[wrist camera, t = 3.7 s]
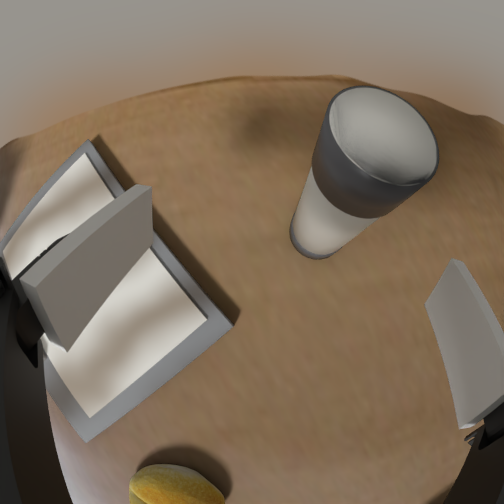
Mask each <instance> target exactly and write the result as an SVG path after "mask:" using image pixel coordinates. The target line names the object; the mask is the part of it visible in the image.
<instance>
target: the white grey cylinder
mask: <svg viewBox="0 0 504 504" xmlns="http://www.w3.org/2000/svg"><path fill="white" fill-rule="evenodd" d="M438 164H439V149H438V144H437V141H436V138H435V135H434V133H433V131H432V129H431V127H430V126H429V124H428V123H427V121H426V120H425V118H424V117H423V116H422V115H421V114H420V113H419V112H418V111H417V110H416V109H415V108H414V107H413V106H412V105H411V104H410V103H408V102H407V101H406V100H404V99H403V98H401V97H399V96H398V95H396V94H394V93H392V92H390V91H387V90H384V89H381V88H377V87H372V86H354V87H349V88H346V89H344V90H342V91H340V92H339V93H337V94H336V95H335V96H334V97H333V98H332V100H331V101H330V103H329V105H328V108H327V111H326V114H325V118H324V121H323V124H322V127H321V130H320V134H319V137H318V140H317V143H316V146H315V149H314V153H313V156H312V166H311V169H310V172H309V175H308V178H307V181H306V183H305V186H304V189H303V192H302V195H301V198H300V201H299V203H298V206H297V209H296V211H295V213H294V215H293V218H292V221H291V224H290V230H289V233H290V239H291V242H292V244H293V246H294V247H295V248H296V250H297V251H298V252H299V253H301V254H302V255H303V256H305V257H308V258H311V259H325V258H328V257H330V256H331V255H333V254H334V253H336V252H337V251H338V250H340V249H341V248H342V247H343V246H344V245H345V244H346V243H348V242H349V241H350V240H352V239H353V238H354V237H356V236H357V235H358V234H359V233H361V232H362V231H363V230H365V229H366V228H367V227H368V226H370V225H371V224H372V223H374V222H375V221H376V220H377V219H379V218H380V217H382V216H384V215H386V214H388V213H390V212H391V211H393V210H394V209H395V208H396V207H398V206H399V205H400V204H401V203H403V202H404V201H405V200H406V199H408V198H409V197H410V196H411V195H413V194H414V193H415V192H416V191H418V190H419V189H420V188H421V187H423V186H424V185H425V184H426V183H427V182H429V181H430V180H431V179H432V177H433V176H434V174H435V173H436V170H437V168H438Z"/></svg>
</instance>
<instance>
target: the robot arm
mask: <svg viewBox="0 0 504 504" xmlns="http://www.w3.org/2000/svg"><path fill="white" fill-rule="evenodd" d="M152 244H153V222H152V187H151V186H145V185H138V184H136V185H135V186H133V187H132V188H130V189H129V190H127V191H126V192H124V193H123V194H121V195H120V196H119V197H117V198H116V199H114V200H113V201H111V202H110V203H109V204H107V205H106V206H105V207H103V208H102V209H101V210H99V211H98V212H97V213H95V214H94V215H93V216H91V217H90V218H89V219H87V220H86V221H85V222H83V223H82V224H81V225H80V226H78V227H77V228H76V229H75V230H73V231H72V232H71V233H69V234H67V235H65V236H63V237H61V238H59V239H57V240H56V241H55V242H53V243H52V244H51V245H50V246H49V247H47V250H46V249H45V250H44V251H43V252H42V253H41V254H40V256H37V257H36V258H35V259H34V260H33V261H32V262H31V263H30V264H28V265H27V266H26V267H25V268H24V269H23V270H22V271H21V272H20V273H19V274H18V275H17V276H16V277H15V278H14V279H13V280H12V281H11V278H10V276H9V274H8V271H7V268H6V266H5V263H4V261H3V259H2V257H0V504H73V503H72V500H71V497H70V495H69V492H68V489H67V486H66V483H65V480H64V476H63V473H62V470H61V466H60V463H59V459H58V455H57V451H56V447H55V442H54V438H53V433H52V428H51V422H50V416H49V410H48V403H47V395H46V386H45V375H44V360H43V344H42V340H41V339H40V338H41V336H42V335H43V334H44V333H45V334H46V336H47V338H48V339H49V341H50V343H51V344H52V345H54V346H55V347H57V348H59V349H61V350H62V351H64V352H66V353H68V351H69V350H70V349H71V347H72V346H73V344H74V343H75V341H76V340H77V339H78V337H79V336H80V334H81V333H82V332H83V330H84V329H85V327H86V326H87V325H88V323H89V322H90V321H91V319H92V318H93V317H94V315H95V314H96V313H97V311H98V310H99V309H100V307H101V306H102V305H103V303H104V302H105V301H106V300H107V298H108V297H109V296H110V295H111V293H112V292H113V291H114V289H115V288H116V287H117V286H118V284H119V283H120V282H121V281H122V280H123V278H124V277H125V276H126V275H127V273H128V272H129V271H130V270H131V269H132V267H133V266H134V265H135V264H136V263H137V261H138V260H139V259H140V258H141V257H142V256H143V254H144V253H145V252H146V251H147V250H148V249H149V247H150V246H151V245H152ZM424 305H425V308H426V310H427V313H428V316H429V319H430V321H431V324H432V327H433V330H434V333H435V336H436V339H437V342H438V345H439V348H440V351H441V355H442V358H443V362H444V365H445V369H446V372H447V376H448V380H449V384H450V388H451V392H452V396H453V401H454V405H455V410H456V415H457V421H458V426H459V429H462V428H468V427H472V426H474V425H475V424H476V423H478V422H479V421H481V420H482V419H483V418H484V423H485V424H483V425H482V426H481V427H479V428H478V429H476V430H475V431H473V432H472V433H471V434H469V435H467V436H466V438H465V439H464V440H465V441H467V440H468V439H470V438H471V437H475V438H474V439H472V440H470V441H469V442H468V444H470V445H471V446H472V447H471V449H470V451H469V454H468V456H467V458H466V461H465V463H464V465H463V467H462V469H461V471H460V473H459V475H458V477H457V479H456V481H455V483H454V485H453V487H452V489H451V491H450V493H449V494H448V496H447V498H446V500H445V501H444V503H443V504H504V333H503V331H502V328H501V326H500V324H499V322H498V320H497V319H496V317H495V315H494V313H493V311H492V309H491V307H490V305H489V304H488V302H487V300H486V298H485V297H484V295H483V293H482V291H481V290H480V288H479V286H478V285H477V283H476V281H475V280H474V278H473V277H472V275H471V273H470V272H469V270H468V269H467V267H466V266H465V264H464V263H463V262H462V261H459V260H456V259H453V258H451V260H450V262H449V264H448V265H447V267H446V269H445V271H444V273H443V274H442V276H441V278H440V279H439V281H438V283H437V285H436V286H435V288H434V290H433V291H432V293H431V294H430V296H429V298H428V299H427V301H426V302H425V304H424Z"/></svg>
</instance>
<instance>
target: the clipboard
mask: <svg viewBox="0 0 504 504" xmlns="http://www.w3.org/2000/svg"><path fill="white" fill-rule="evenodd" d="M124 192H126V191H125V189H124V188H123V187H122V185H121V184H120V182H119V181H118V180H117V178H116V177H115V175H114V174H113V173H112V171H111V170H110V168H109V167H108V165H107V164H106V163H105V161H104V160H103V158H102V157H101V155H100V154H99V152H98V151H97V149H96V148H95V146H94V145H93V143H92V142H91V141H90V140H89V139H87V140H86V141H85V142H84V143H83V144H82V145H81V146H80V147H79V148H78V149H77V150H76V151H75V152H74V153H73V154H72V155H71V156H70V157H69V158H68V159H67V160H66V161H65V162H64V163H63V164H62V165H61V166H60V167H59V168H58V169H57V171H56V172H55V173H54V174H53V175H52V176H51V177H50V178H49V179H48V181H47V182H46V183H45V184H44V185H43V186H42V187H41V189H40V190H39V191H38V192H37V193H36V195H35V196H34V197H33V198H32V200H31V201H30V202H29V203H28V205H27V206H26V207H25V208H24V210H23V211H22V212H21V214H20V215H19V216H18V218H17V219H16V221H15V222H14V223H13V225H12V226H11V228H10V229H9V230H8V232H7V233H6V235H5V236H4V238H3V239H2V241H1V242H0V257H2V259H3V261H4V263H5V266H6V268H7V271H8V274H9V276H10V278H11V281H12V280H13V279H14V278H15V277H16V276H17V275H18V274H19V273H20V272H21V271H22V270H23V269H24V268H25V267H26V266H27V265H28V264H30V263H31V262H32V261H33V260H34V259H35V258H36V257H37V256H40V254H41V253H42V252H43V251H44V250H45V249H46V250H47V247H49V246H50V245H51V244H52V243H53V242H55V241H56V240H57V239H59V238H61V237H63V236H65V235H67V234H69V233H71V232H72V231H73V230H75V229H76V228H77V227H78V226H80V225H81V224H82V223H83V222H85V221H86V220H87V219H89V218H90V217H91V216H93V215H94V214H95V213H97V212H98V211H99V210H101V209H102V208H103V207H105V206H106V205H107V204H109V203H110V202H111V201H113V200H114V199H116V198H117V197H119V196H120V195H121V194H123V193H124ZM233 326H234V324H233V323H232V322H231V321H230V320H229V319H228V318H227V317H226V315H225V314H224V313H223V312H222V311H221V310H220V309H219V308H218V306H217V305H216V304H215V303H214V302H213V301H212V299H211V298H210V297H209V296H208V295H207V294H206V292H205V291H204V290H203V289H202V288H201V287H200V285H199V284H198V283H197V282H196V281H195V279H194V278H193V277H192V276H191V275H190V273H189V272H188V271H187V270H186V269H185V267H184V266H183V265H182V264H181V262H180V261H179V260H178V259H177V257H176V256H175V255H174V254H173V252H172V251H171V250H170V249H169V247H168V246H167V245H166V244H165V242H164V241H163V240H162V239H161V237H160V236H159V235H158V233H157V232H156V231H155V230H154V228H153V244H152V245H151V246H150V247H149V249H148V250H147V251H146V252H145V253H144V254H143V256H142V257H141V258H140V259H139V260H138V261H137V263H136V264H135V265H134V266H133V267H132V269H131V270H130V271H129V272H128V273H127V275H126V276H125V277H124V278H123V280H122V281H121V282H120V283H119V284H118V286H117V287H116V288H115V289H114V291H113V292H112V293H111V295H110V296H109V297H108V298H107V300H106V301H105V302H104V303H103V305H102V306H101V307H100V309H99V310H98V311H97V313H96V314H95V315H94V317H93V318H92V319H91V321H90V322H89V323H88V325H87V326H86V327H85V329H84V330H83V332H82V333H81V334H80V336H79V337H78V339H77V340H76V341H75V343H74V344H73V346H72V347H71V349H70V350H69V351H68V353H66V352H64V351H62V350H61V349H59V348H57V347H55V346H54V345H52V344H51V343H50V341H49V339H48V338H47V336H46V334H45V333H44V334H43V335H42V336H41V338H40V339H41V340H42V344H43V360H44V375H45V386H46V389H47V391H48V392H49V394H50V396H51V397H52V399H53V400H54V402H55V403H56V405H57V406H58V407H59V409H60V410H61V412H62V413H63V415H64V416H65V417H66V419H67V420H68V421H69V423H70V424H71V425H72V427H73V428H74V429H75V431H76V432H77V433H78V434H79V436H80V437H81V438H82V439H83V441H84V442H85V443H87V442H88V441H90V440H91V439H92V438H94V437H95V436H97V435H98V434H99V433H101V432H102V431H104V430H105V429H106V428H108V427H109V426H110V425H112V424H113V423H114V422H116V421H117V420H118V419H120V418H121V417H122V416H124V415H125V414H126V413H128V412H129V411H130V410H132V409H133V408H134V407H136V406H137V405H138V404H140V403H141V402H142V401H143V400H145V399H146V398H147V397H149V396H150V395H151V394H152V393H154V392H155V391H156V390H157V389H159V388H160V387H161V386H162V385H164V384H165V383H166V382H167V381H169V380H170V379H171V378H172V377H174V376H175V375H176V374H177V373H179V372H180V371H181V370H182V369H184V368H185V367H186V366H187V365H188V364H190V363H191V362H192V361H193V360H194V359H196V358H197V357H198V356H199V355H200V354H202V353H203V352H204V351H205V350H206V349H208V348H209V347H210V346H211V345H212V344H214V343H215V342H216V341H217V340H218V339H219V338H221V337H222V336H223V335H224V334H225V333H226V332H228V331H229V330H230V329H231V328H232V327H233Z"/></svg>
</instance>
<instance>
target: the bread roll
mask: <svg viewBox="0 0 504 504" xmlns="http://www.w3.org/2000/svg"><path fill="white" fill-rule="evenodd" d="M129 499H130V504H225V499H224V496H223V495H222V493H221V492H220V491H219V490H218V489H217V488H216V487H215V486H214V485H213V484H211V483H210V482H209V481H208V480H206V479H205V478H204V477H203V476H202V475H201V474H199V473H198V472H196V471H195V470H192V469H189V468H187V467H183V466H178V465H171V464H155V465H150V466H146V467H144V468H142V469H141V470H139V471H138V472H137V473H136V474H134V475H133V477H132V478H131V480H130V484H129Z"/></svg>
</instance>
